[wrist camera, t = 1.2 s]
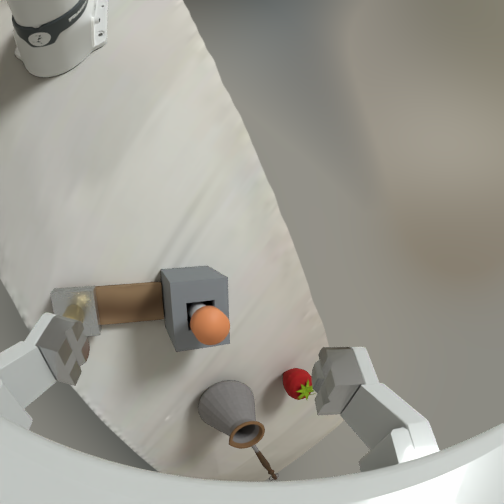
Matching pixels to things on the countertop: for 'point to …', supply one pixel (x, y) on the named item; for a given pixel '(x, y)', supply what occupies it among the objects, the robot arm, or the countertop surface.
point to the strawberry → (297, 383)
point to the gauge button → (208, 323)
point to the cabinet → (187, 291)
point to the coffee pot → (234, 416)
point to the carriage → (78, 307)
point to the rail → (129, 302)
